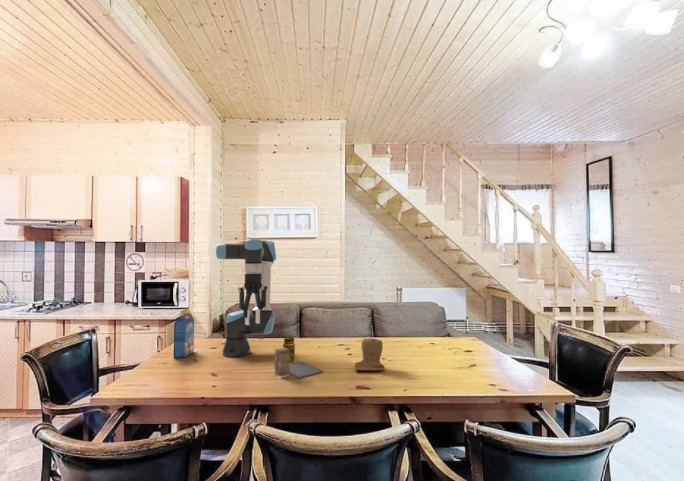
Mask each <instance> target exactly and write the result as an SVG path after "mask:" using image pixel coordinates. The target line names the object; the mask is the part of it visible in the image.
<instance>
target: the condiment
mask: <svg viewBox="0 0 684 481" xmlns="http://www.w3.org/2000/svg"><path fill="white" fill-rule="evenodd" d="M283 340H284V341H283V346H282V348H284V347H285V348H287V349H289V350H290V364H291V363H298V360H296V359H295V358H296V356H295V355H296V353H295V352H296V348H295V347H296V343H295V338H294V337H292V336H291V337H290V336H287V337H284V339H283Z"/></svg>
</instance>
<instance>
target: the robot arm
mask: <svg viewBox="0 0 684 481" xmlns="http://www.w3.org/2000/svg"><path fill="white" fill-rule="evenodd" d="M276 252H277V251H276V246H275V241H272V240H262V239H259V238H258V239H254V238H253V239H252V238H251V239H249V238H248V239H246V240H243V241H238V242H235V243H217V246H216V249H215V254H216V259H218V260H244V272H245V273H244V284H243V286H241V287H240V286H239V287H238V288H237V289H238V292H239V298H238V299H239V301H238V302H239V305H238V306H239V310H237V311H233V312H229V313H228V314H227V315H226V320H225V342H224V345H223V348H222V356H225V357H229V358H230V357H231V358H236V357H237V358H238V357H243V356H247V355H249V354H250V353H251V345H250V343H249V340H248V339H249V338H248V335H269V334H272V333H273V329H274V323H275V318H276V317H275V316H276V313H274V312H273V309H272V308H271V279H272V278H271V277H272V276H271V274H272V266H273V264H274V262H275V261H277V253H276ZM245 291H246V292H245ZM253 294H254V307H253V308H252V309H251V313H250V310H249V305H250V302H251V297H252V295H253Z"/></svg>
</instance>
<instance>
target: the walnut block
mask: <svg viewBox="0 0 684 481" xmlns="http://www.w3.org/2000/svg"><path fill="white" fill-rule="evenodd" d="M274 356H275V357H274V376H276V377H277V378H280V379H282V378H286V377H290V376H291V375H290V365H291V363H290V350H289V349H287V348H285V347H284V348H283V347H279V348H274Z"/></svg>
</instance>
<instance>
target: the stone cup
mask: <svg viewBox="0 0 684 481" xmlns="http://www.w3.org/2000/svg"><path fill="white" fill-rule="evenodd" d="M383 348H384V347H383V341H382V340H381V339H377V338H367V337H366V338H364V337H363V339H362V341H361V352H362V360H360V361H357V362H355V363H354V367H353V368H354V370H355V371H366V372H367V371H368V372H369V371H370V372H372V371H373V372H374V371H384V370H386V369H385V365H384V364H382V363H381V362H380V361H381V356H382V353H383Z"/></svg>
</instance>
